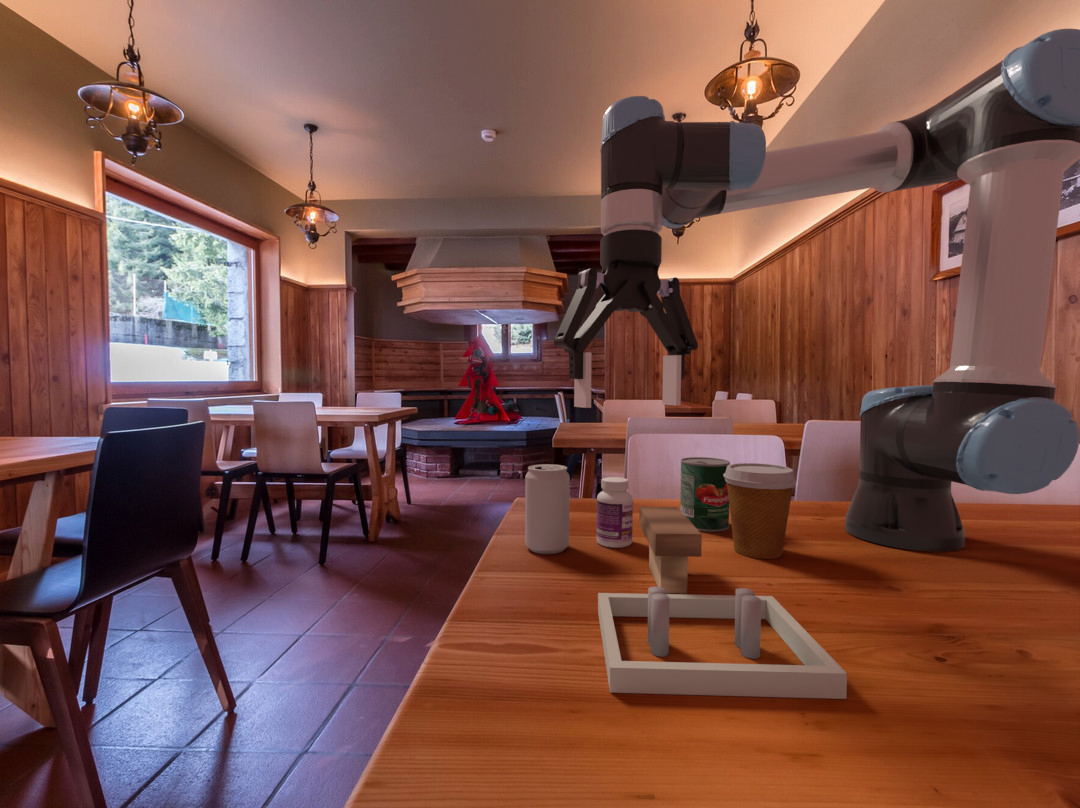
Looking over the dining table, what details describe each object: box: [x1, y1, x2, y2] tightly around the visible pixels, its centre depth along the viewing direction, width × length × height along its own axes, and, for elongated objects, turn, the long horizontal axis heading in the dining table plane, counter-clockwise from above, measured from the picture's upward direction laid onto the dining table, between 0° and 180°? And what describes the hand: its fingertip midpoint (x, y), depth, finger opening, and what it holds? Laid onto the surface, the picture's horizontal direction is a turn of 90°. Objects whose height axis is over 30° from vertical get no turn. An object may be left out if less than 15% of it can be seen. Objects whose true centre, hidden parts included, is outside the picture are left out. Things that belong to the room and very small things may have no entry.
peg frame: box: [597, 585, 848, 700], centre depth 46 cm, size 18×14×5 cm
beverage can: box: [524, 463, 571, 555], centre depth 74 cm, size 6×6×12 cm
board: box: [638, 506, 703, 558], centre depth 62 cm, size 12×5×2 cm, turn 177°
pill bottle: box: [596, 476, 634, 549], centre depth 76 cm, size 5×5×10 cm
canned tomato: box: [679, 456, 731, 533], centre depth 86 cm, size 8×8×11 cm
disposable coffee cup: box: [723, 462, 798, 560], centre depth 72 cm, size 10×10×12 cm
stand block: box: [648, 544, 689, 595], centre depth 62 cm, size 3×8×5 cm, turn 177°
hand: (628, 406), depth 64 cm, fingers open, 13 cm apart
